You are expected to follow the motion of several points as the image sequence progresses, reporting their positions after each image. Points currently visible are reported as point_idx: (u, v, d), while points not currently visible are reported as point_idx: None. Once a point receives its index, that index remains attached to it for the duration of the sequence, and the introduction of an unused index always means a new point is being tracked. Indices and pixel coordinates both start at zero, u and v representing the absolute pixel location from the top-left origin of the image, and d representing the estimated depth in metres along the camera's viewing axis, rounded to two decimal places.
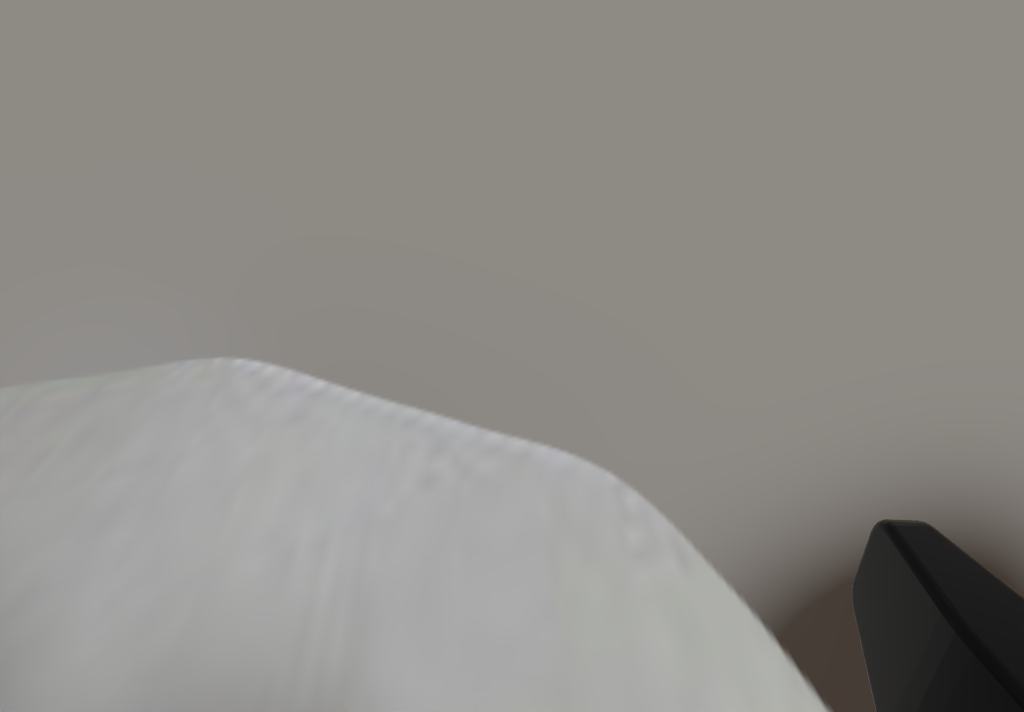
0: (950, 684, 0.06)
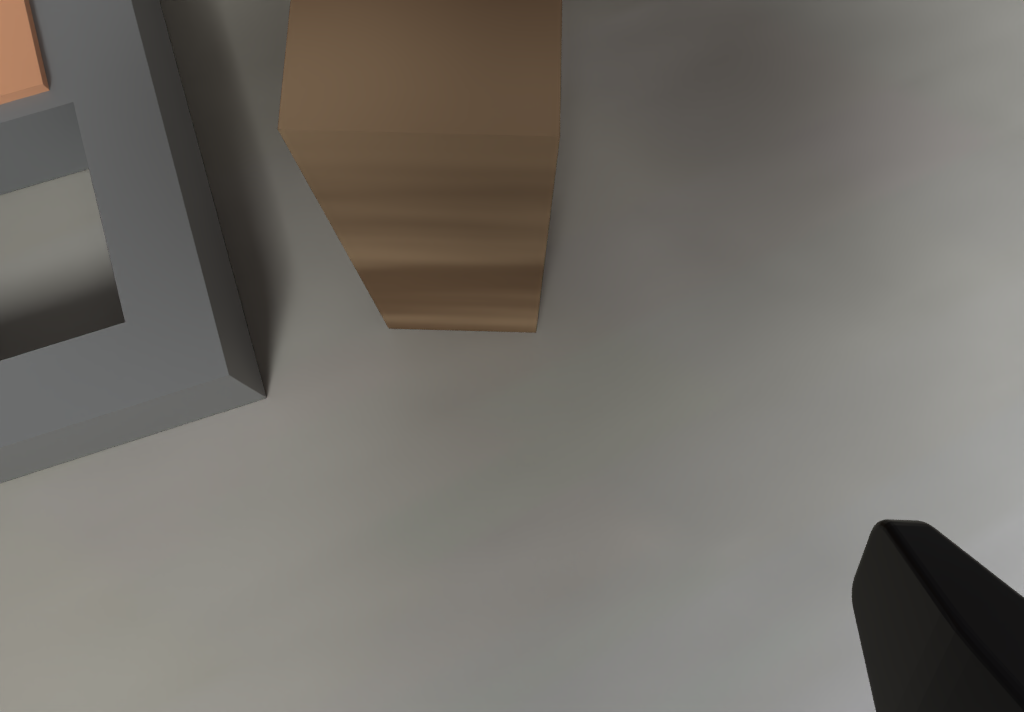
0: (950, 684, 0.06)
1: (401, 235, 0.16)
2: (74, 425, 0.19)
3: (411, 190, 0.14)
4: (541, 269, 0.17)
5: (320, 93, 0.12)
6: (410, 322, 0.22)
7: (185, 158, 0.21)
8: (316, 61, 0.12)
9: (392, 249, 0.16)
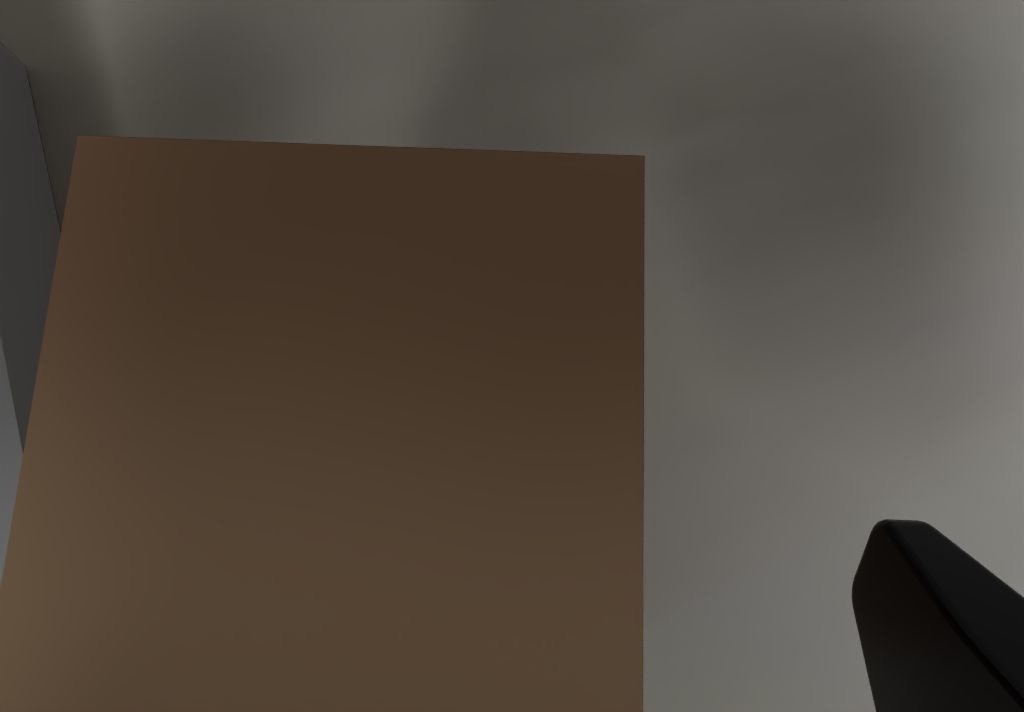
0: (950, 684, 0.06)
1: None
2: None
3: None
4: None
5: (83, 649, 0.05)
6: None
7: None
8: (77, 565, 0.05)
9: None
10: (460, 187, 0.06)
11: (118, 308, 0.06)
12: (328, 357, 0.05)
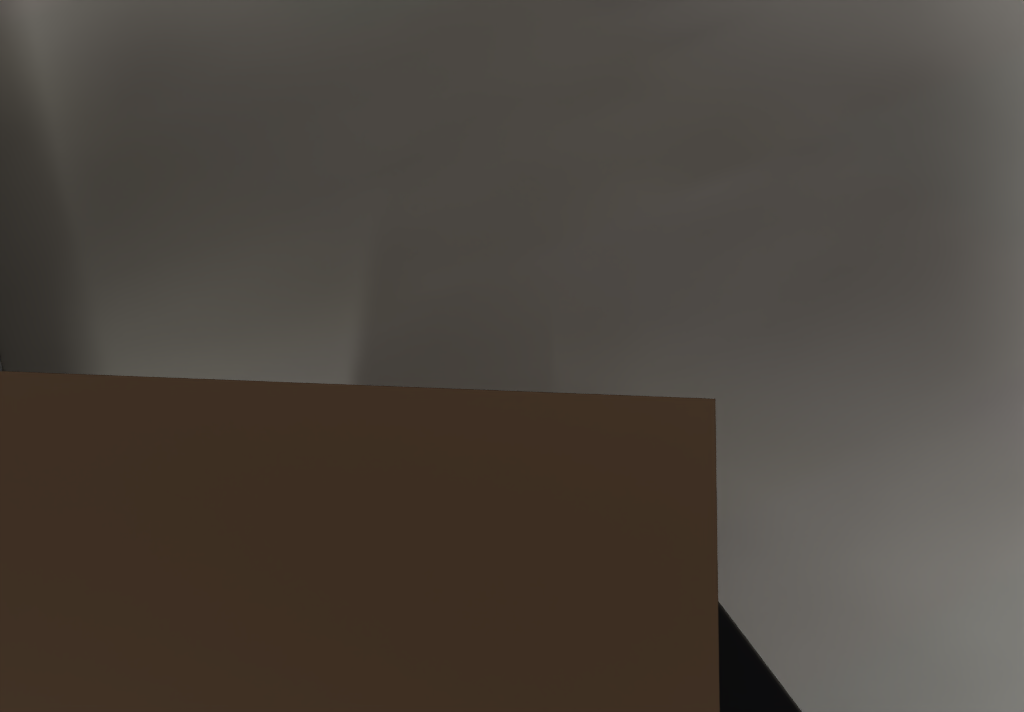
0: None
1: None
2: None
3: None
4: None
5: None
6: None
7: None
8: None
9: None
10: (409, 454, 0.03)
11: None
12: None
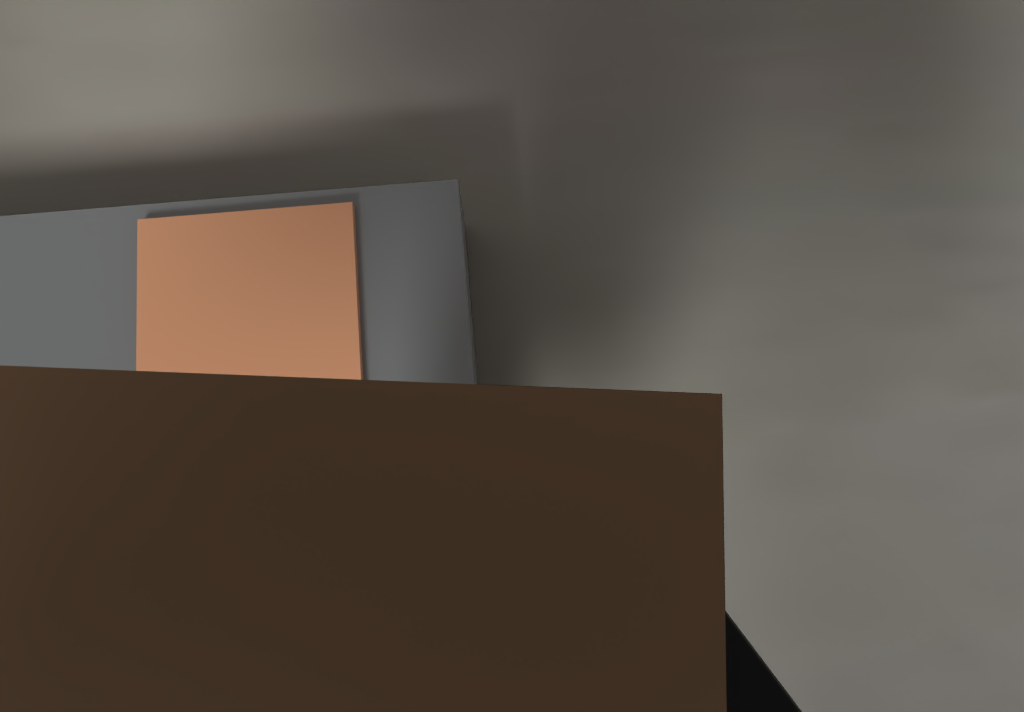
0: None
1: None
2: None
3: None
4: None
5: None
6: None
7: None
8: None
9: None
10: (416, 449, 0.03)
11: None
12: None
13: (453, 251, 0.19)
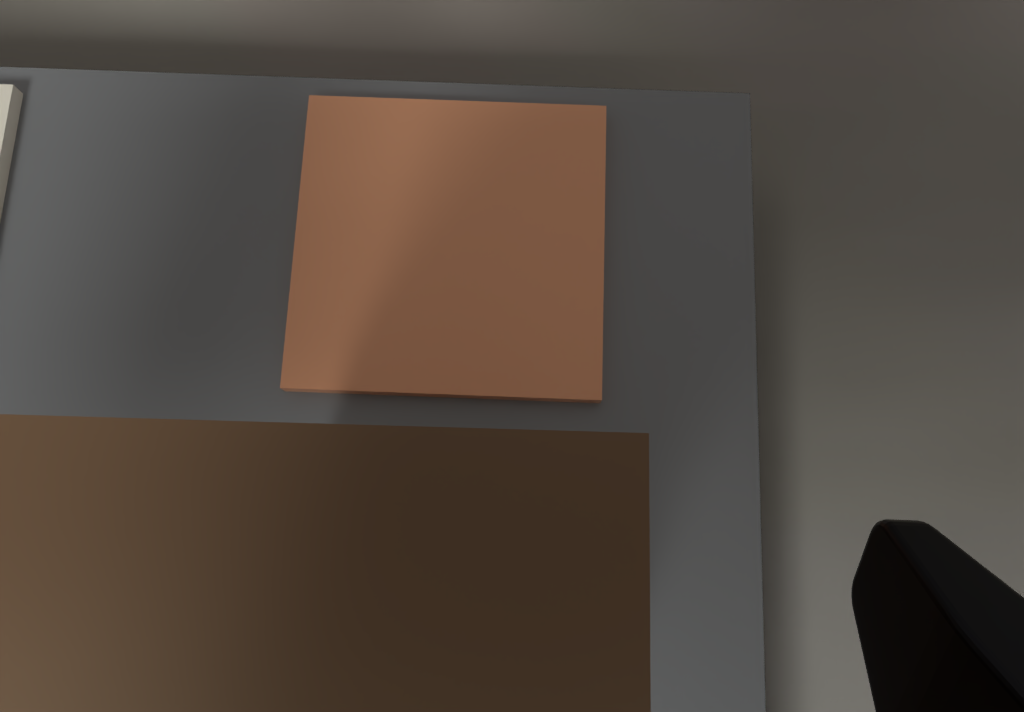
0: (950, 684, 0.06)
1: None
2: None
3: None
4: None
5: None
6: None
7: None
8: None
9: None
10: (434, 475, 0.05)
11: (31, 634, 0.05)
12: (279, 693, 0.05)
13: (738, 191, 0.14)
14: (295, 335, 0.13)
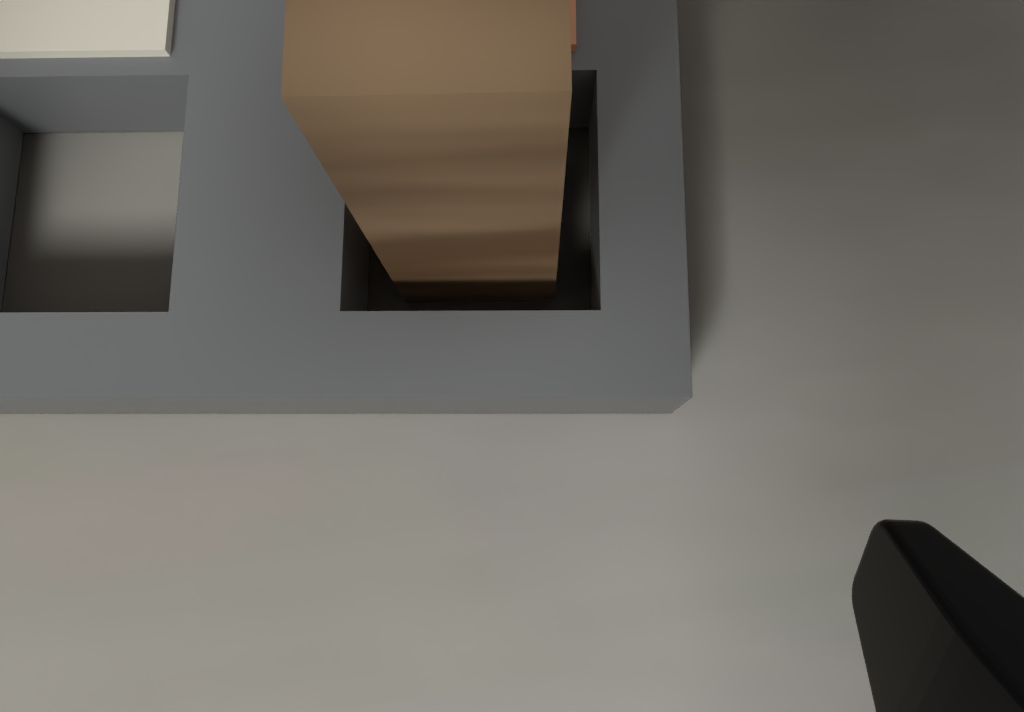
0: (950, 684, 0.06)
1: (412, 203, 0.15)
2: (528, 397, 0.19)
3: (421, 157, 0.13)
4: (557, 234, 0.17)
5: (323, 57, 0.11)
6: (426, 294, 0.21)
7: None
8: (316, 25, 0.12)
9: (404, 219, 0.16)
10: None
11: None
12: None
13: None
14: None
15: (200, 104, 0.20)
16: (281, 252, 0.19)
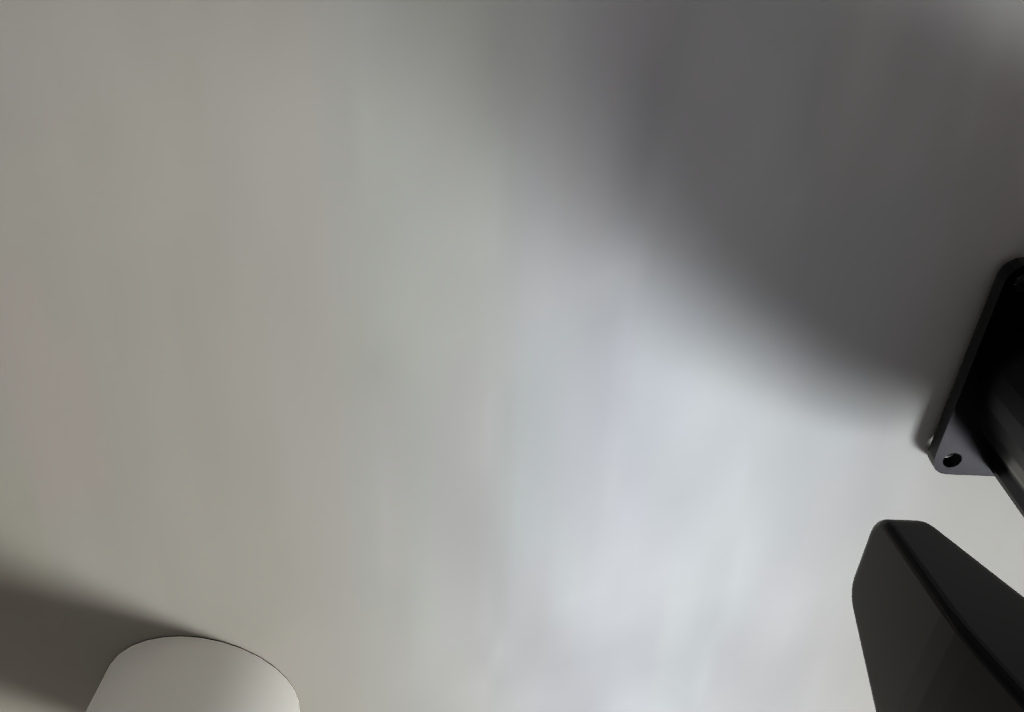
0: (950, 684, 0.06)
1: None
2: None
3: None
4: None
5: None
6: None
7: None
8: None
9: None
10: None
11: None
12: None
13: None
14: None
15: None
16: None
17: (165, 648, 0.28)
